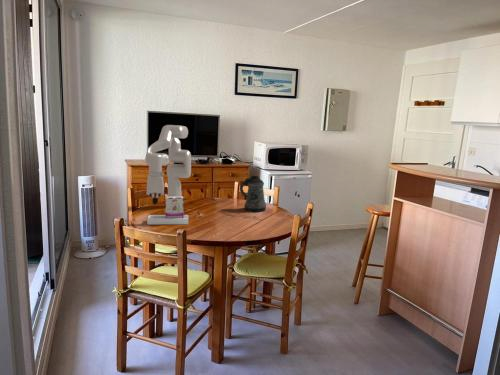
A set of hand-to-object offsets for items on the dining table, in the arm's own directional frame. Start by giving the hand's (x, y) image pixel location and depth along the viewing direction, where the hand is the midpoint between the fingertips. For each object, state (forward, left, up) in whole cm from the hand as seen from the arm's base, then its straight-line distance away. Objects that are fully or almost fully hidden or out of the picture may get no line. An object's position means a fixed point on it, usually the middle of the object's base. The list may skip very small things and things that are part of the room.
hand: (155, 204), depth 223 cm
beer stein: (-35, +68, -12) cm, 77 cm away
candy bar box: (-1, +12, -12) cm, 17 cm away
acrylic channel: (-1, +8, -12) cm, 14 cm away
